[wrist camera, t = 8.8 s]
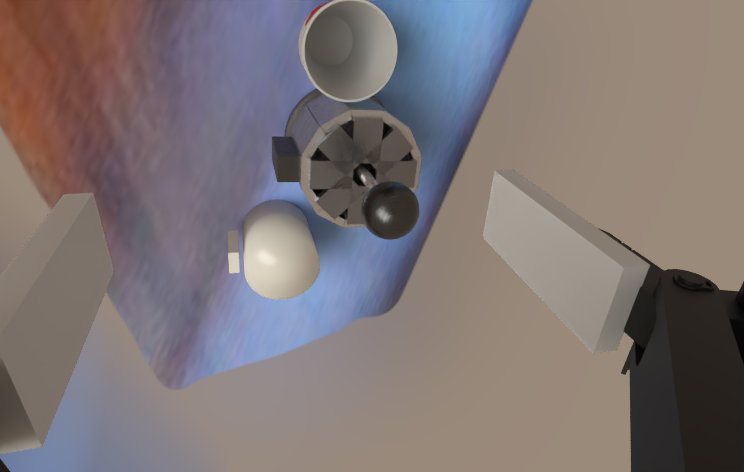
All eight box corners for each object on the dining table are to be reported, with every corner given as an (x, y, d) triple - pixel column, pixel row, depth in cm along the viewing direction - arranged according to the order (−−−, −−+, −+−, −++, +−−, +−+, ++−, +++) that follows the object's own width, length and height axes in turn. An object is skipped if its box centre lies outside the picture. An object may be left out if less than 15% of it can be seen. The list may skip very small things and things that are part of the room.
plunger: (303, 101, 47) (343, 165, 30) (384, 104, 50) (464, 165, 32) (301, 181, 51) (336, 277, 34) (376, 180, 53) (444, 270, 36)
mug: (227, 200, 52) (226, 237, 44) (308, 199, 54) (321, 233, 47) (230, 259, 55) (230, 303, 48) (307, 255, 58) (318, 296, 50)
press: (268, 79, 47) (278, 104, 37) (395, 86, 51) (436, 109, 41) (270, 190, 53) (279, 237, 42) (384, 188, 56) (418, 232, 46)
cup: (364, -8, 46) (394, -8, 37) (371, 77, 50) (400, 95, 41) (282, 1, 44) (294, 3, 36) (296, 88, 48) (310, 108, 40)
